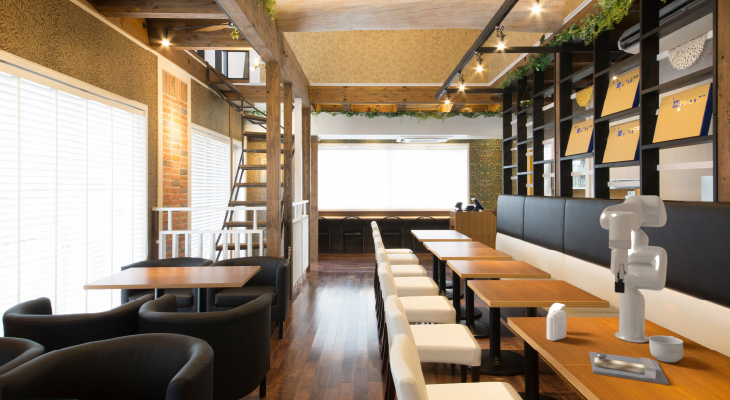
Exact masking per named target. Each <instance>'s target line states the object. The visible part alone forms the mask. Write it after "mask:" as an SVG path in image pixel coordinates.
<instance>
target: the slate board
mask: <svg viewBox="0 0 730 400" xmlns="http://www.w3.org/2000/svg"><path fill="white" fill-rule="evenodd" d="M597 353H598V352H595V351H589V358H590V362H591V369H592V373H593V374H596V375H602V376H607V377H609V376H610V377H614V378H615V377H616V378H623V379H629V380H635V381H641V382H648V383H655V384H661V385H667V386H668V385H669V380H668V379H667V377H666V375H665V373H664V372H663V370H662V368H661V367H660V364H659V363H658V360H655V359H654V360H653V359H650V360H651V361H652V363H653V365H654V366H655V368H656V379H650V378H645V377H644V374H642V373H636V372H630V371H624V370H618V369H612V368H603V367H598V366H596V365H595V358H596V357H598V356H597ZM605 354H606V355H607V357H606V358H605V359H610V360H616V361H623V362H629V363H635V364H641V365H642V363H641V361H640V357H632V356H624V355H617V354H611V353H610V354H609V353H605Z"/></svg>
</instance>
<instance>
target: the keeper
mask: <svg viewBox="0 0 730 400" xmlns="http://www.w3.org/2000/svg"><path fill="white" fill-rule="evenodd" d="M639 358H640V361H641V363H642V365H643V367H644V377H645V378H650V379H656V368H655V366H654V365H653V363H652V361H651V360H652V359H651V358H647V357H639Z"/></svg>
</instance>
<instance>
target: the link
mask: <svg viewBox="0 0 730 400" xmlns="http://www.w3.org/2000/svg"><path fill="white" fill-rule="evenodd" d="M596 353H597V356H598V357H596V358H595V365H596V366H598V367H603V368H612V369H618V370H624V371H630V372H636V373H642V374H644V367H643V365H641V364H635V363H629V362H623V361H616V360H610V359H605V358H606V357H607V355H606V354H607V353H602V352H596Z"/></svg>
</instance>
